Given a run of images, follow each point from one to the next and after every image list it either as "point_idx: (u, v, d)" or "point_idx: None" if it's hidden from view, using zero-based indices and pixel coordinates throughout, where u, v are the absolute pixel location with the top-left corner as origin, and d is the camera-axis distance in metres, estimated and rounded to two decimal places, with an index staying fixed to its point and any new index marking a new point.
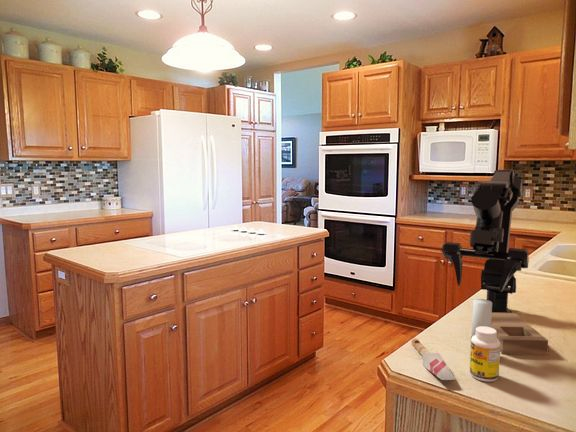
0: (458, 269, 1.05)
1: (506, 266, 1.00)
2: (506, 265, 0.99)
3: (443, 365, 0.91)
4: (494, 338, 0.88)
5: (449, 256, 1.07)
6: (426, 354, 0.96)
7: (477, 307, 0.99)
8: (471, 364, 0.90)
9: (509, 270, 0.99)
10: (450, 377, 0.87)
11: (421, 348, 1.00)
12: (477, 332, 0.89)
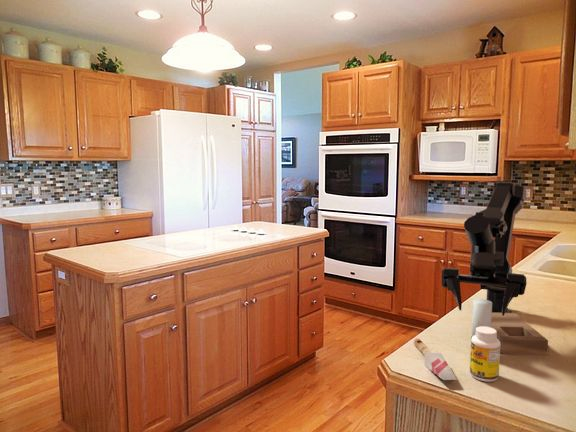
0: (459, 293, 1.05)
1: (507, 290, 1.02)
2: (507, 289, 1.02)
3: (445, 365, 0.92)
4: (494, 338, 0.88)
5: (449, 281, 1.07)
6: (428, 354, 0.96)
7: (477, 307, 0.99)
8: (471, 364, 0.90)
9: (510, 294, 1.01)
10: (451, 377, 0.87)
11: (423, 348, 1.01)
12: (477, 332, 0.89)
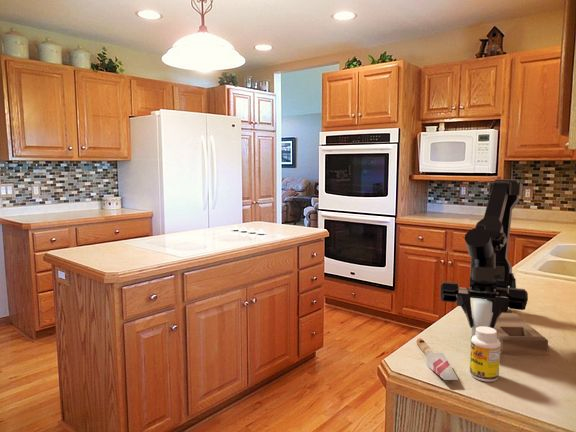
0: (470, 310, 1.01)
1: (496, 304, 1.00)
2: (496, 303, 1.00)
3: (446, 365, 0.92)
4: (494, 338, 0.88)
5: (459, 297, 1.03)
6: (430, 354, 0.96)
7: (477, 307, 0.99)
8: (471, 364, 0.90)
9: (499, 308, 0.99)
10: (453, 377, 0.87)
11: (425, 348, 1.01)
12: (477, 332, 0.89)
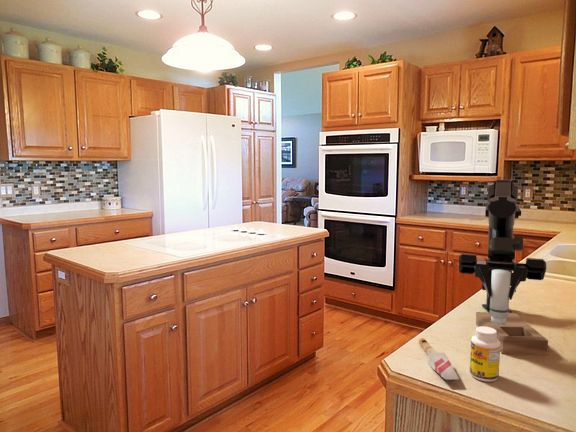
0: (488, 280, 1.03)
1: (514, 274, 1.01)
2: (514, 273, 1.01)
3: (448, 364, 0.92)
4: (494, 338, 0.88)
5: (477, 267, 1.05)
6: (432, 354, 0.96)
7: (496, 276, 1.00)
8: (471, 364, 0.90)
9: (517, 278, 1.01)
10: (454, 377, 0.87)
11: (427, 348, 1.01)
12: (477, 332, 0.89)
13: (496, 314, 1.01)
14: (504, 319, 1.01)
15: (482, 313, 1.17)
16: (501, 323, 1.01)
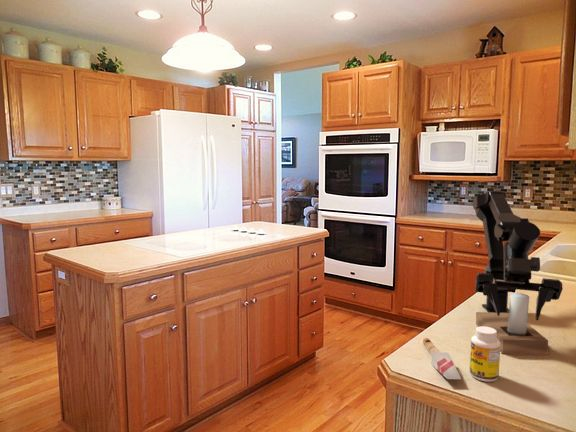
0: (497, 299, 1.06)
1: (540, 295, 1.03)
2: (540, 294, 1.03)
3: (450, 364, 0.92)
4: (494, 338, 0.88)
5: (486, 286, 1.08)
6: (435, 353, 0.96)
7: (515, 300, 1.03)
8: (471, 364, 0.90)
9: (543, 299, 1.03)
10: (456, 377, 0.87)
11: (431, 347, 1.01)
12: (477, 332, 0.89)
13: None
14: None
15: (482, 313, 1.17)
16: None
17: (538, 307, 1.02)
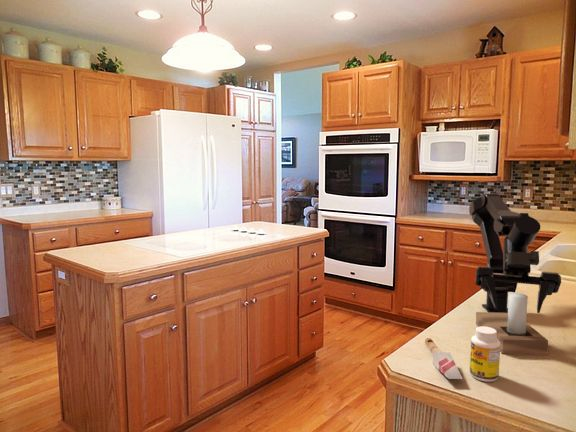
0: (494, 292, 1.08)
1: (541, 288, 1.04)
2: (542, 287, 1.04)
3: (452, 364, 0.92)
4: (494, 338, 0.88)
5: (484, 280, 1.10)
6: (436, 353, 0.96)
7: (513, 300, 1.03)
8: (471, 364, 0.90)
9: (545, 292, 1.04)
10: (457, 376, 0.88)
11: (433, 347, 1.01)
12: (477, 332, 0.89)
13: None
14: None
15: (482, 313, 1.17)
16: None
17: (539, 300, 1.04)
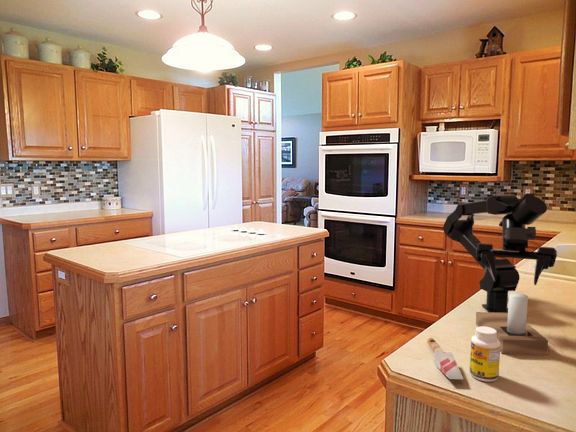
0: (493, 266, 1.14)
1: (538, 262, 1.11)
2: (538, 261, 1.11)
3: (453, 364, 0.92)
4: (494, 338, 0.88)
5: (484, 255, 1.16)
6: (438, 353, 0.96)
7: (514, 300, 1.03)
8: (471, 364, 0.90)
9: (541, 265, 1.10)
10: (458, 377, 0.88)
11: (435, 347, 1.01)
12: (477, 332, 0.89)
13: None
14: None
15: (482, 313, 1.17)
16: None
17: (536, 273, 1.10)
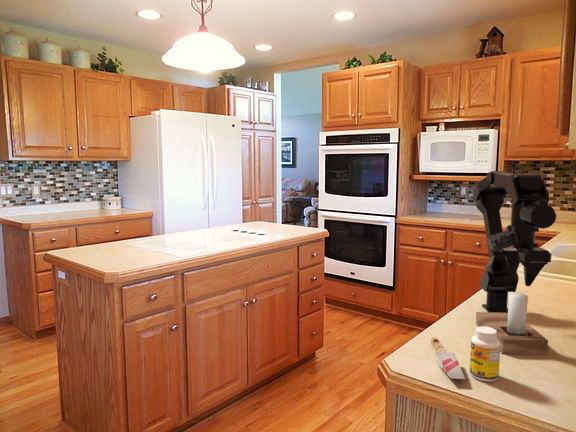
0: (507, 263, 1.19)
1: (523, 265, 1.08)
2: (522, 264, 1.08)
3: (455, 364, 0.92)
4: (494, 338, 0.88)
5: None
6: (441, 353, 0.96)
7: (514, 300, 1.03)
8: (471, 364, 0.90)
9: (525, 268, 1.08)
10: (460, 376, 0.88)
11: (438, 347, 1.01)
12: (477, 332, 0.89)
13: None
14: None
15: (482, 313, 1.17)
16: None
17: (524, 276, 1.09)
